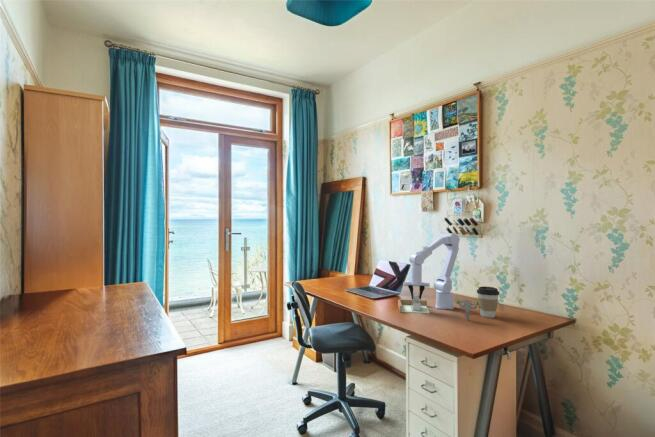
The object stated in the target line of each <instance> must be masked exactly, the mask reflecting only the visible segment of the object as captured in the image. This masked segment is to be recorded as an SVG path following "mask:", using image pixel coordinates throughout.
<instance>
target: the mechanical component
mask: <svg viewBox="0 0 655 437" xmlns="http://www.w3.org/2000/svg"><path fill="white" fill-rule="evenodd" d="M456 304H457V305H458V306H459V308H460V309H463V310H464V311H465V320H466V321H467V322H468V321H470V313H471V310H476V309H478V306H479V301H474V303H472V301H471V300H468V299H467V300H466V299H458V300H457V301H456ZM473 306H474V307H473Z"/></svg>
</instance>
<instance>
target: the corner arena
mask: <svg viewBox="0 0 655 437" xmlns="http://www.w3.org/2000/svg"><path fill="white" fill-rule="evenodd" d="M419 301H420V303H421V311H418V310H413V308H412V299H407V298H405V299H404V298H401V299H397V306H398V311H399V313H406V314H407V313H409V314H410V313H411V314H428V315H429V314H430V310H429V308H428V301H427V300H426V299H419Z"/></svg>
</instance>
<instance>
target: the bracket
mask: <svg viewBox="0 0 655 437" xmlns="http://www.w3.org/2000/svg"><path fill="white" fill-rule="evenodd" d="M411 300H412V308H413V310H418V311H421V303H420V301H419V300H420V299H419V294H416V293H415V294H414V293H413V299H412V298H411Z"/></svg>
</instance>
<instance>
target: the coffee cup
mask: <svg viewBox="0 0 655 437" xmlns="http://www.w3.org/2000/svg"><path fill="white" fill-rule="evenodd" d="M476 293H477V298H478V303H479V305H478V306H479V307H478V308H479V315H480V317H483V318H487V319H494V318H495V317H496V315H497V314H496V313H497V308H498V302H499V296H500V291H499V290H498V288H496V287H492V286H479V287H478V289H476Z"/></svg>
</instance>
